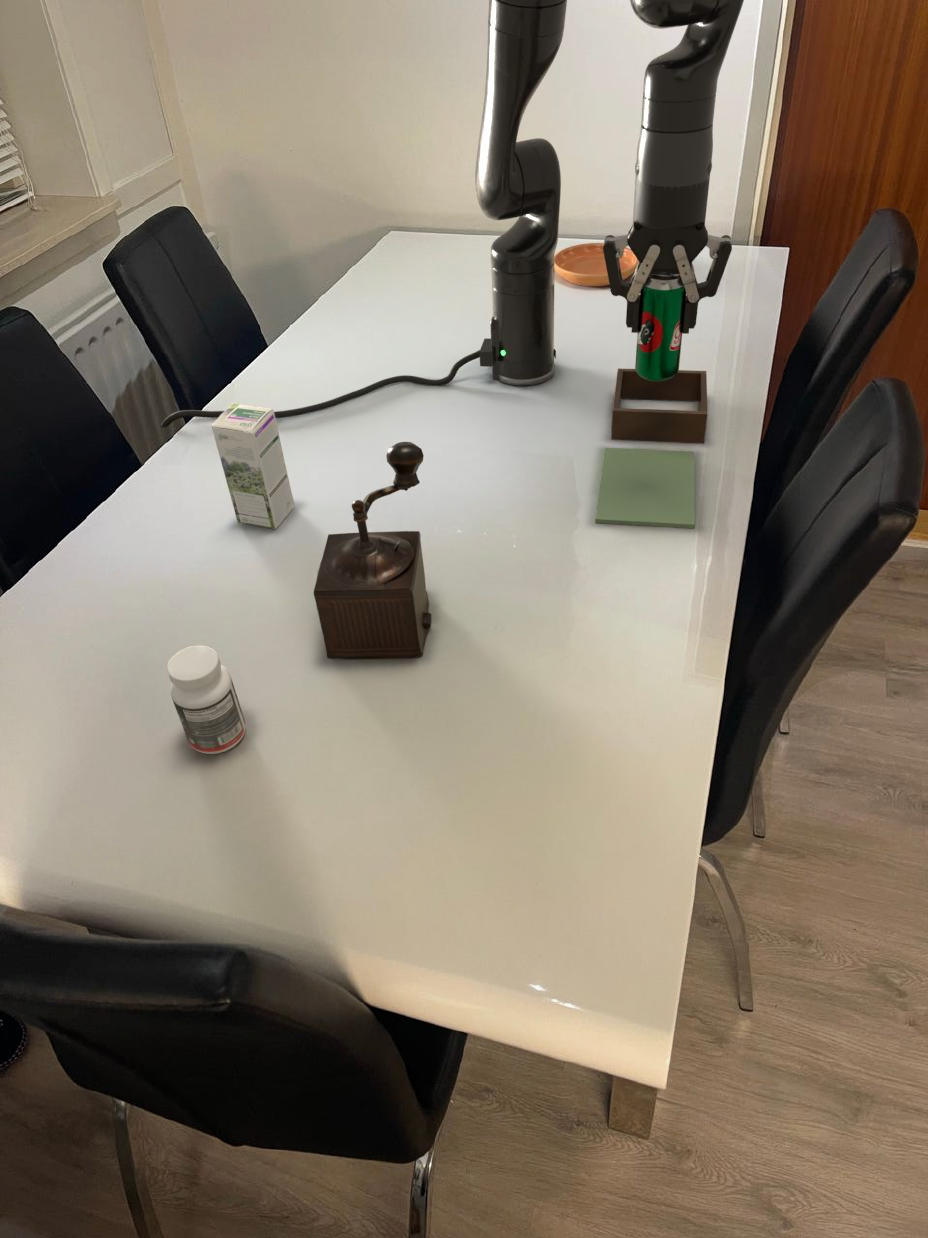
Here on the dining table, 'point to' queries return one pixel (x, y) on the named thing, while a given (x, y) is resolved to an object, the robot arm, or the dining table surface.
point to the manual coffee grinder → (375, 580)
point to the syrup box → (254, 465)
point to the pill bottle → (205, 700)
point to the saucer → (590, 264)
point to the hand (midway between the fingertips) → (659, 329)
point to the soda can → (660, 327)
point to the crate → (660, 421)
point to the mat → (647, 488)
